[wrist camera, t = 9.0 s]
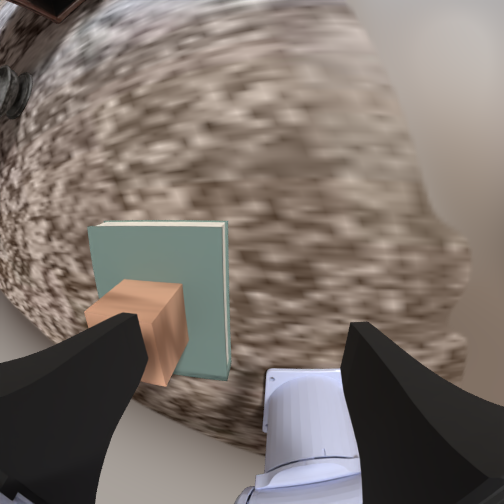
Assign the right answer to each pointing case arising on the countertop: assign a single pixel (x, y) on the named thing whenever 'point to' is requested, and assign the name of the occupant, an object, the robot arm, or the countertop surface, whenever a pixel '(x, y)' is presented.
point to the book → (175, 279)
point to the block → (149, 322)
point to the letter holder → (50, 8)
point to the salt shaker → (13, 92)
